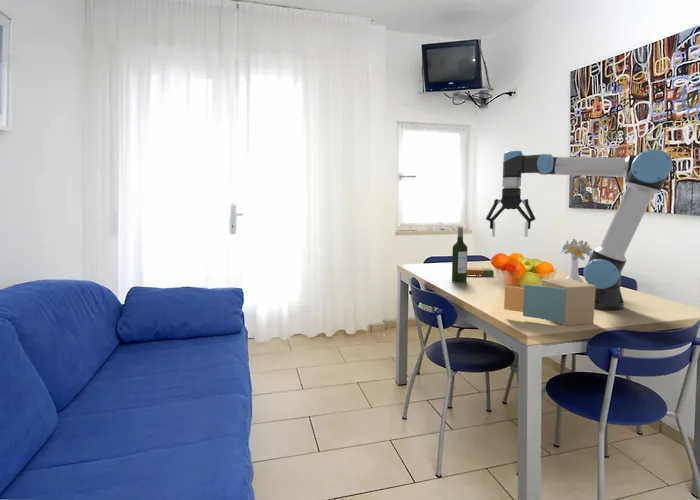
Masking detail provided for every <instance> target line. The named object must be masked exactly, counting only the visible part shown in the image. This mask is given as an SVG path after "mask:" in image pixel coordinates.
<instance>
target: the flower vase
mask: <svg viewBox="0 0 700 500" xmlns="http://www.w3.org/2000/svg"><path fill="white" fill-rule="evenodd" d="M588 243H589V242H588V241H585V242H584V240H582V239H581V240H579V241H577V240H576V239H575V238H572V241H571V242H570V243H569V240H568V239H567V240H566V243H565V244H563V246H562V249H561V252H560V254H562V253H563V252H564V253H563V255H568V254H570V256H571V257H570V258H571V261H570V262H571V263H570V271H569V273H568V276H567V277H565V278H564V279H572V280H576V281H580V282H583V283H585V281H584V280H583V278H581V276H580V275H579V259H580V260H582V261H585V260H586V257H585V256H584V255H586V256H588V257H590V253H591V252H593V249H592V248H591V247H590V244H588Z"/></svg>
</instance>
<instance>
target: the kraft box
mask: <svg viewBox="0 0 700 500" xmlns="http://www.w3.org/2000/svg"><path fill="white" fill-rule="evenodd" d="M540 286H544V287H553V288H562V289H566V300H565V317H564V322H559V321H554V322H555V323H557V324H560V325H562V326H573V325H575V326H576V325H591V324H594V319H595V318H594V317H595V308H594V306H595V291H596V286H595V285H591V284H588V282H584V283H583V282H580V281H576V280H572V279H565V278H555V279H554V278H553V279H552V278H551V279H541V284H540Z"/></svg>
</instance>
